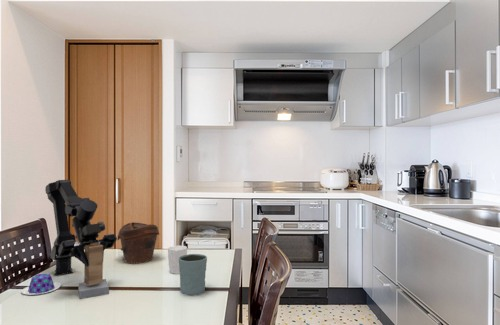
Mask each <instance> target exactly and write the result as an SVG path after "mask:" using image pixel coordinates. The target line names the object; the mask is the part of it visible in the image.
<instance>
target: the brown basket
mask: <svg viewBox="0 0 500 325" xmlns="http://www.w3.org/2000/svg"><path fill="white" fill-rule="evenodd" d="M158 235H161V234H160V232H159V227H158V226H157V225H156V224H147V223H142V222H132V221H131V222H128V223H126V224H124V225H123V226H122V227H121V228H120V229H119V231H118V233H117V240H116V241H120V244H121V248H120V251H122V253H123V260H124V262H125V263H129V264H143V263H148V262H150V261H152V260H153V258H154V252H155V248H156V243H157V238H158Z"/></svg>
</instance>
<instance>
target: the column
mask: <svg viewBox="0 0 500 325" xmlns="http://www.w3.org/2000/svg"><path fill="white" fill-rule="evenodd" d="M84 252H85V254H86V257H87V259H88V263H89V266H88V267H87V266H86V265H84V272H83V273H84V279H83V280H84V281H83V282H85V283H86V284H88V285H89V286H90V285H94V284H98V283H102V282H103V279H104V278H103V275H104V272H103V270H104V257H103V245H101V244H98V243H96V242H95V243H90V245H85V248H84Z"/></svg>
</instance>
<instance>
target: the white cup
mask: <svg viewBox="0 0 500 325" xmlns="http://www.w3.org/2000/svg"><path fill="white" fill-rule="evenodd" d="M167 252H168V254H167V255H168V256H167V257H168V268H169V273H170V274H173V275H174V274H175V275H176V274H177V275H178V274H180V271H179V269H180V268H179V257H181V256H183V255H188V253H187V252H188V246H186V245H172V246H169V247H167Z"/></svg>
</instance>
